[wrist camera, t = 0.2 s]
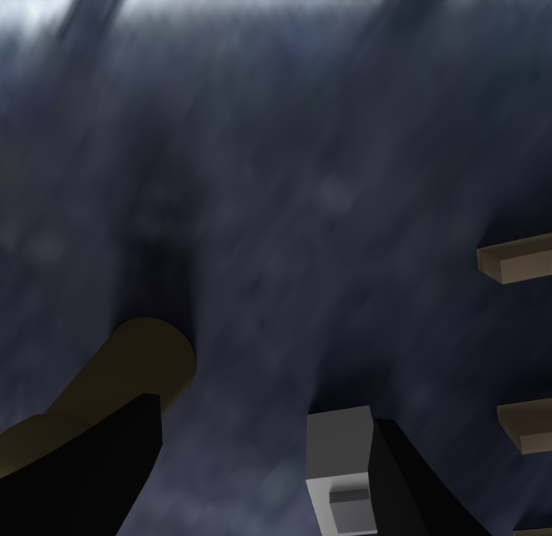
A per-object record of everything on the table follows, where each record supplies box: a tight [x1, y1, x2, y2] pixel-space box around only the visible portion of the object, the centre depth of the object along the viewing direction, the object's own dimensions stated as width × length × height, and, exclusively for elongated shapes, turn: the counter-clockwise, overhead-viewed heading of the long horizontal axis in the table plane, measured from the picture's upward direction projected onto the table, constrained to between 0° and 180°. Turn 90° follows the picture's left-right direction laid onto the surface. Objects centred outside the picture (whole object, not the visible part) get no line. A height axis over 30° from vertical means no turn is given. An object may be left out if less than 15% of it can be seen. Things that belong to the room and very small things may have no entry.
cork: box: [0, 317, 196, 478], centre depth 17 cm, size 6×6×11 cm
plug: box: [306, 405, 377, 536], centre depth 20 cm, size 4×4×6 cm
